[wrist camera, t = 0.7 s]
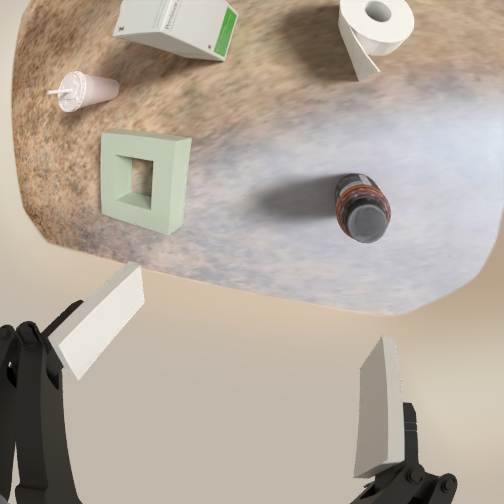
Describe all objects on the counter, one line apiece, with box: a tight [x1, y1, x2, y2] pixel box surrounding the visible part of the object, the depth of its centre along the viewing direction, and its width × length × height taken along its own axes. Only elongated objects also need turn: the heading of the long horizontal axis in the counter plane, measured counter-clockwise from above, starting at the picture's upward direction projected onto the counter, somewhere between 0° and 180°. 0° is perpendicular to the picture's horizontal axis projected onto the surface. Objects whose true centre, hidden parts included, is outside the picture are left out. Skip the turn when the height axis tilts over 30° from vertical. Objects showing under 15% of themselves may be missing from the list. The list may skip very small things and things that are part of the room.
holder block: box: [100, 129, 192, 236], centre depth 38 cm, size 14×14×4 cm
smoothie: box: [47, 71, 119, 112], centre depth 29 cm, size 6×6×14 cm
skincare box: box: [112, 0, 239, 61], centre depth 21 cm, size 8×7×16 cm
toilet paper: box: [338, 0, 414, 81], centre depth 20 cm, size 8×11×7 cm
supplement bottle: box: [335, 174, 391, 243], centre depth 29 cm, size 6×6×11 cm
